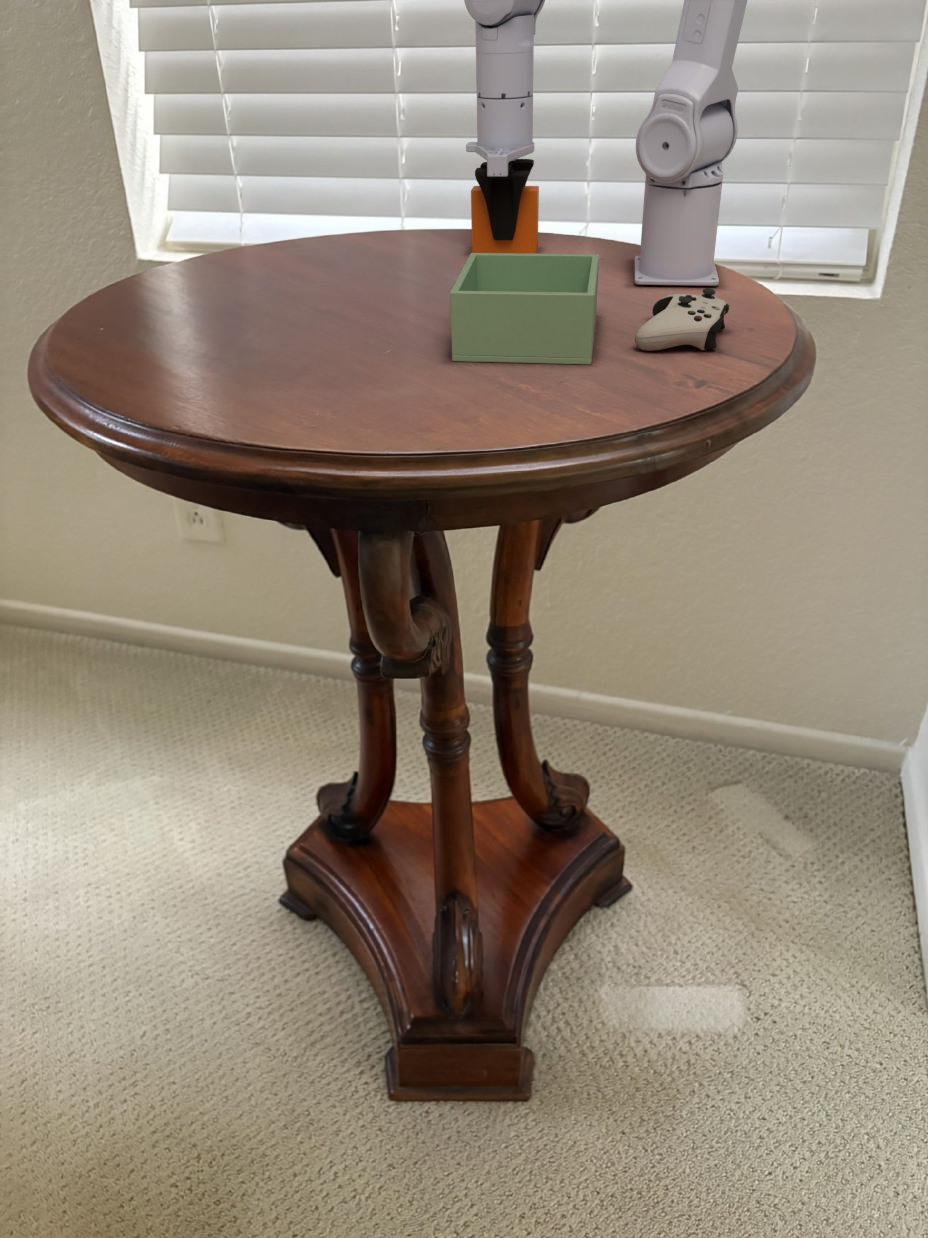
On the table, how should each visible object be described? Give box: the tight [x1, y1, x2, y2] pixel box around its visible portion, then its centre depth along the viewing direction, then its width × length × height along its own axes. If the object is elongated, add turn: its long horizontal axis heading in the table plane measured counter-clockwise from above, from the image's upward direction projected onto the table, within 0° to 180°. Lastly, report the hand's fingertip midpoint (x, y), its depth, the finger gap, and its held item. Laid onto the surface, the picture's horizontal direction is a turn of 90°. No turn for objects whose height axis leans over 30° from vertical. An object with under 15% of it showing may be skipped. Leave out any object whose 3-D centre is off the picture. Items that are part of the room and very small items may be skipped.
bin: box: [449, 252, 600, 365], centre depth 84 cm, size 12×11×6 cm
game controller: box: [634, 287, 730, 352], centre depth 84 cm, size 10×5×6 cm
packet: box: [470, 185, 540, 254], centre depth 108 cm, size 2×7×6 cm, turn 82°
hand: (505, 235), depth 109 cm, fingers closed on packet, 2 cm apart
